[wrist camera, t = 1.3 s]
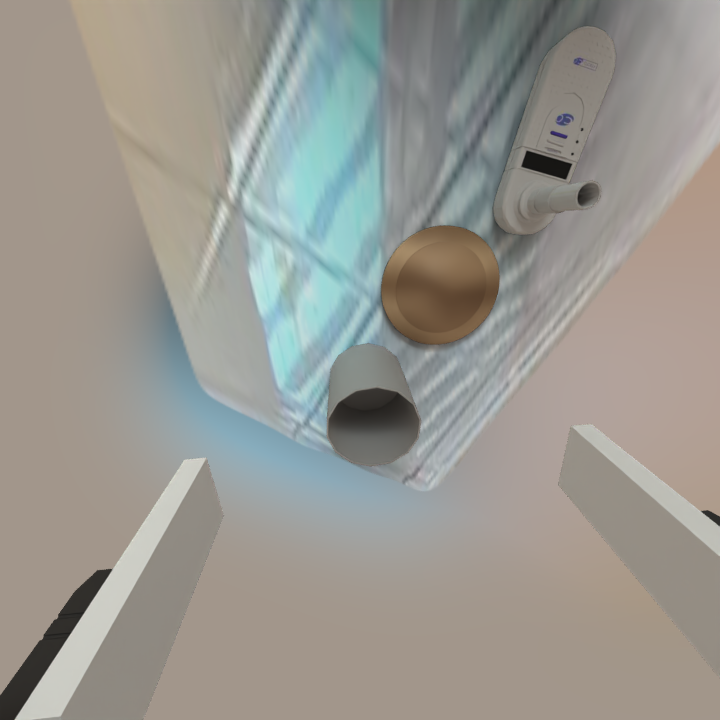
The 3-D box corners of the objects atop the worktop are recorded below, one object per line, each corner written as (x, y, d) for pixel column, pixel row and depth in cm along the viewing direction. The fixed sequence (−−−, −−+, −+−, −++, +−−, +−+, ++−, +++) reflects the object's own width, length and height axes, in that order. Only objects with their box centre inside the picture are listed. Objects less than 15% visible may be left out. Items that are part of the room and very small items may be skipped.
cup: (412, 354, 37) (434, 399, 28) (389, 414, 41) (403, 472, 31) (339, 336, 36) (338, 377, 27) (322, 399, 39) (316, 455, 30)
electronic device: (732, -31, 19) (603, 244, 24) (604, 53, 28) (532, 239, 33) (650, -64, 18) (537, 227, 23) (547, 34, 27) (482, 226, 32)
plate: (378, 230, 32) (379, 230, 31) (501, 220, 32) (506, 221, 31) (383, 346, 37) (384, 349, 36) (490, 337, 37) (494, 340, 36)
